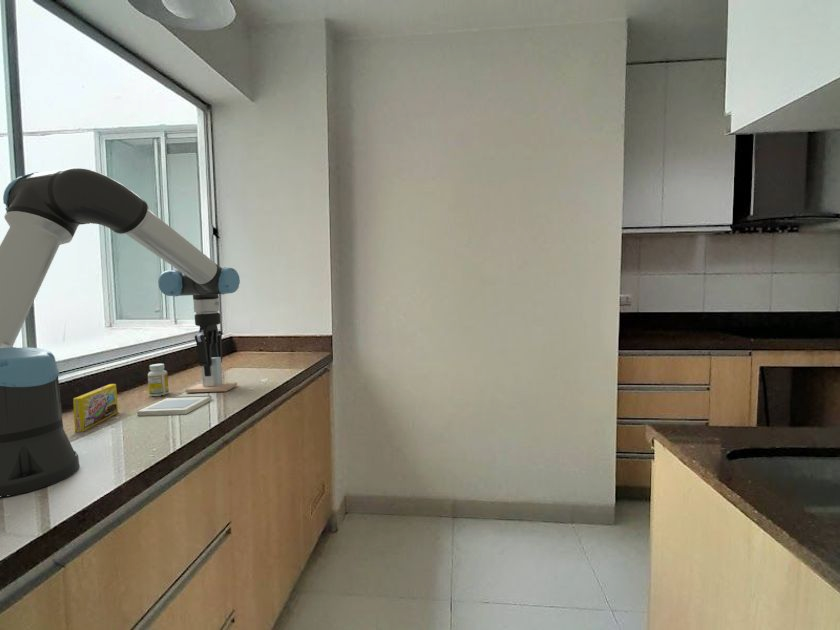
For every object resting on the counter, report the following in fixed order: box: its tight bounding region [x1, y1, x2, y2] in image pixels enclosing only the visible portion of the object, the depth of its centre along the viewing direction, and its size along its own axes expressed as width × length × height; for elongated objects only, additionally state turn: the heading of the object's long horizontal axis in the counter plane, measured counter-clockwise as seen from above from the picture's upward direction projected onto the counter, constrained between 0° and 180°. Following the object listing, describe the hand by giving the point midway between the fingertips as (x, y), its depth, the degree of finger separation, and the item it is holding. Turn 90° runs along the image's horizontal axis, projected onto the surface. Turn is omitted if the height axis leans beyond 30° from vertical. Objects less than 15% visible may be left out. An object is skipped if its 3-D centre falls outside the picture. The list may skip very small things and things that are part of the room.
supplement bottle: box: [147, 363, 170, 397], centre depth 141 cm, size 5×5×10 cm
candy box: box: [72, 383, 119, 433], centre depth 114 cm, size 16×2×8 cm, turn 8°
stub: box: [185, 357, 238, 393], centre depth 144 cm, size 8×13×10 cm, turn 88°
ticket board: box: [136, 395, 213, 417], centre depth 125 cm, size 14×13×1 cm
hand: (213, 384), depth 145 cm, fingers closed on stub, 3 cm apart
